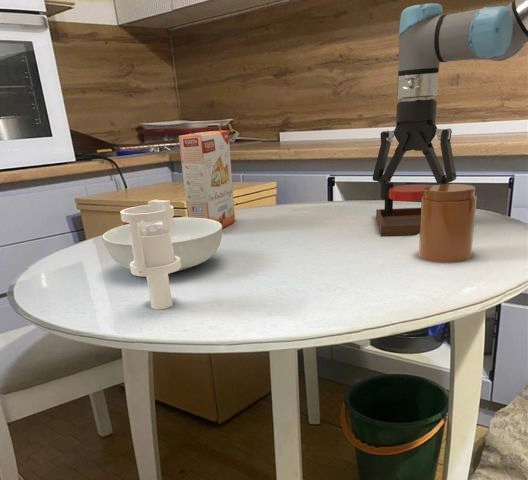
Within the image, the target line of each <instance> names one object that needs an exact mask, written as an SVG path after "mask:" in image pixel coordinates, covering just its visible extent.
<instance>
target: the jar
mask: <svg viewBox="0 0 528 480" xmlns="http://www.w3.org/2000/svg"><path fill="white" fill-rule="evenodd" d="M424 189H425V191H424V194H425V195H424V197H422V200H421V203H420V204H421V205H420V208H421V221H420V233H419V239H418V241H419V242H418V258H419V259H421V260H423V261H427V262H432V263H441V264H442V263H443V264H444V263H445V264H447V263H448V264H449V263H451V264H452V263H460V262H464V261H468V260H470V259H471V257H472V251H473V243H474V230H475V222H476V221H475V220H476V211H477V210H476V209H477V199H478V198H477V196H476V195H475V192H476V186H474V185H471V184H464V183H463V184H462V183H447V184H443V185H436V184H435V185H432V186H429V187H426V188H424Z"/></svg>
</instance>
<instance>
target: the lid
mask: <svg viewBox="0 0 528 480" xmlns="http://www.w3.org/2000/svg"><path fill="white" fill-rule="evenodd" d="M429 186H433V185H431V184H400V185H394V186H393V187H391V188H389V193H388V197H389V199H392V200H393V201H398V202H417V201H418V202H419V201H422V197H424V195H425V194H424V191H425V189H424V188H426V187H429Z"/></svg>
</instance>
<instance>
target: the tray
mask: <svg viewBox="0 0 528 480" xmlns="http://www.w3.org/2000/svg"><path fill="white" fill-rule="evenodd" d="M375 210H376V211H375V219H376V223H377V224H376V225H377V228H378V231H379V235H380V237H401V236H402V237H404V236H417V235H420V221H421V207H402V208H401V207H399V208H393V214H391V215H389V216H384V210H385V208H380V209H379V208H378V209H375Z"/></svg>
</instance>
